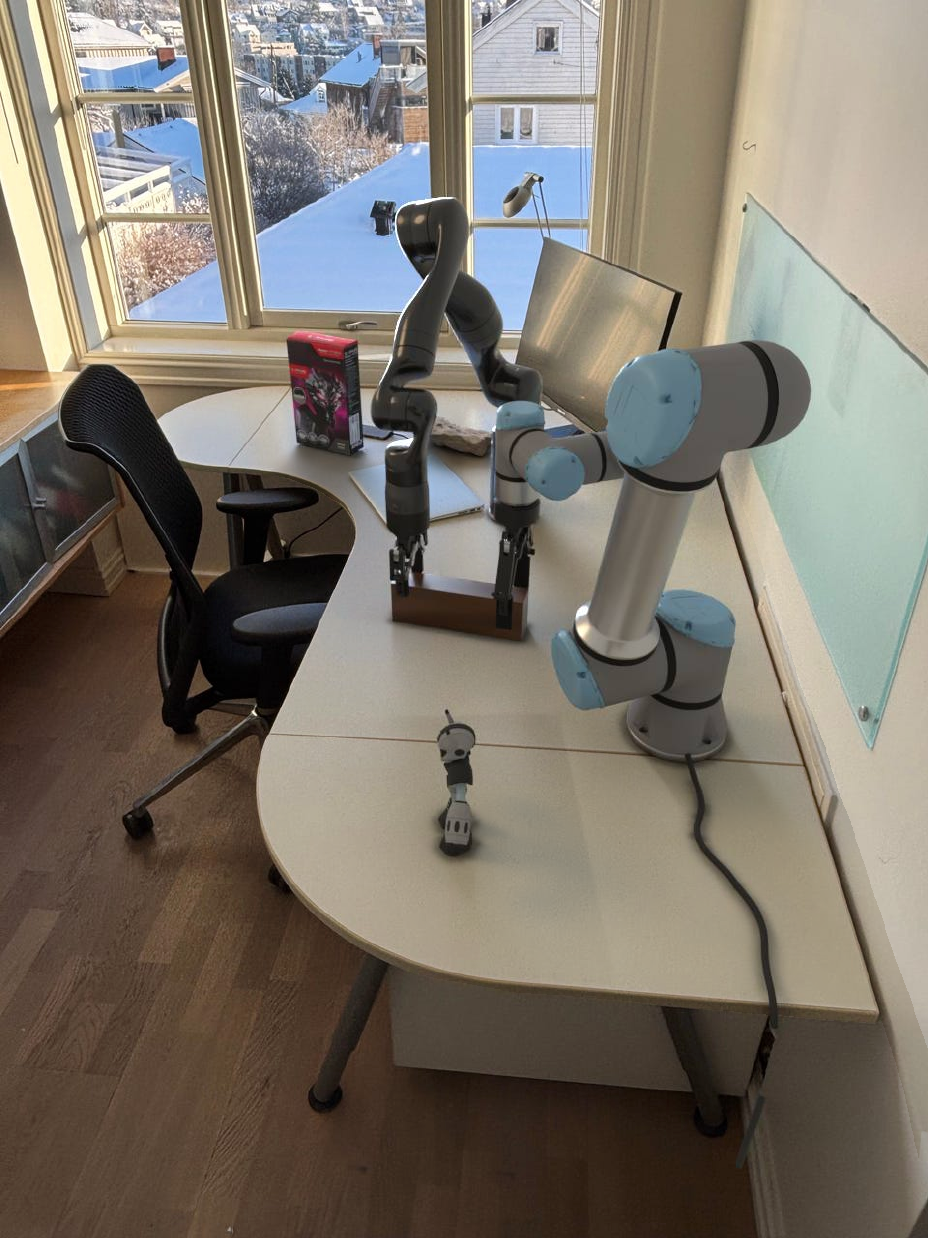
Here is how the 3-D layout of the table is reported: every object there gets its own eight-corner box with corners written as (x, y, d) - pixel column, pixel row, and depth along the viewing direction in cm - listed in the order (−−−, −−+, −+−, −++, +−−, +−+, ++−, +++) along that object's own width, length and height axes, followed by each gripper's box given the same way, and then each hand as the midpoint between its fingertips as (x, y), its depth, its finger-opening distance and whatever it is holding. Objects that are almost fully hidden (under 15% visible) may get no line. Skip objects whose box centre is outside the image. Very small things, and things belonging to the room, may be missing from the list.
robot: (478, 890, 117) (481, 774, 106) (439, 891, 117) (438, 775, 106) (469, 781, 133) (471, 671, 122) (436, 782, 133) (434, 671, 122)
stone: (397, 439, 228) (402, 416, 226) (416, 430, 242) (421, 408, 239) (477, 464, 225) (483, 440, 222) (491, 454, 238) (497, 431, 236)
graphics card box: (294, 443, 234) (283, 336, 218) (310, 434, 239) (300, 328, 224) (350, 457, 227) (343, 347, 212) (366, 447, 232) (360, 339, 217)
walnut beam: (521, 641, 163) (523, 603, 158) (392, 620, 168) (390, 583, 163) (526, 625, 167) (528, 588, 162) (400, 606, 172) (399, 569, 167)
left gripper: (415, 524, 150) (418, 607, 159) (440, 487, 161) (441, 566, 170) (372, 518, 151) (377, 601, 160) (399, 482, 163) (402, 561, 172)
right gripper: (523, 534, 139) (518, 649, 151) (553, 469, 159) (547, 575, 171) (475, 528, 141) (474, 642, 153) (511, 464, 161) (508, 569, 173)
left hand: (410, 583), depth 165 cm, fingers open, 8 cm apart
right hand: (512, 607), depth 162 cm, fingers open, 13 cm apart
